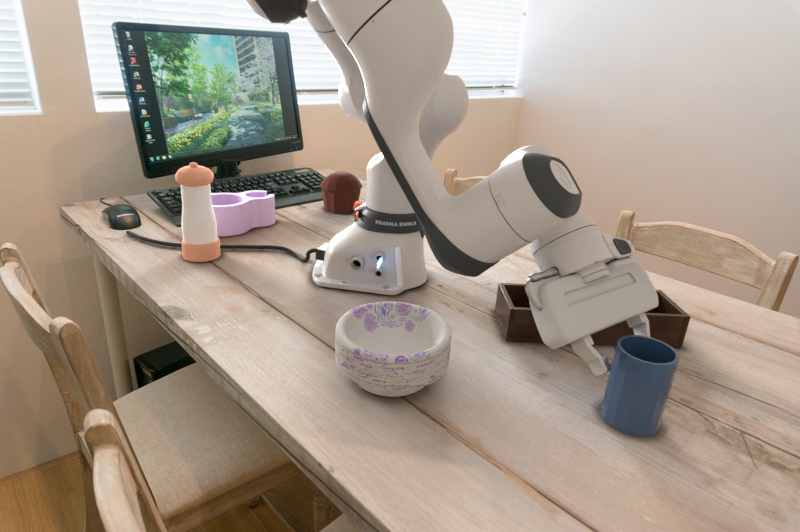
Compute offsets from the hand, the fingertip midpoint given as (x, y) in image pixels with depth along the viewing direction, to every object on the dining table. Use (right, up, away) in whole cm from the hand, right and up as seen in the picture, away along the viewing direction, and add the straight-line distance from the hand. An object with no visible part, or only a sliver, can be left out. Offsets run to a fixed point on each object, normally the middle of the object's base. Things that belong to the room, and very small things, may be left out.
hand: (626, 362), depth 65 cm
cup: (+1, -7, +2) cm, 8 cm away
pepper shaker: (-69, +14, +44) cm, 83 cm away
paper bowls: (-29, -3, +7) cm, 30 cm away
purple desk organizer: (-68, +21, +63) cm, 95 cm away
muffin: (-44, +27, +81) cm, 96 cm away
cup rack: (+3, +1, +23) cm, 23 cm away
